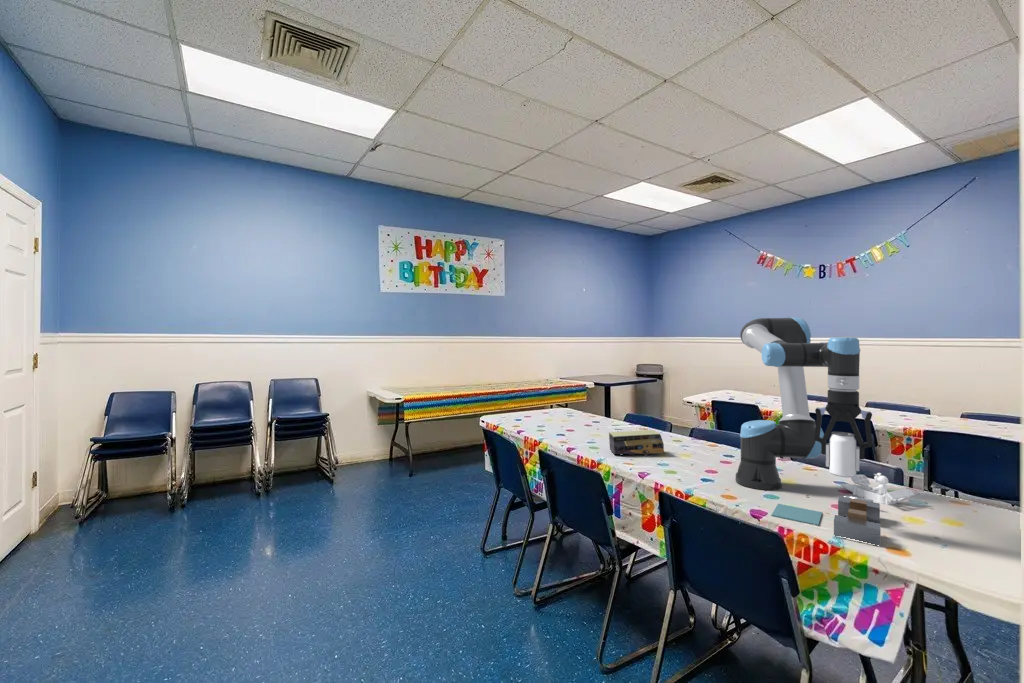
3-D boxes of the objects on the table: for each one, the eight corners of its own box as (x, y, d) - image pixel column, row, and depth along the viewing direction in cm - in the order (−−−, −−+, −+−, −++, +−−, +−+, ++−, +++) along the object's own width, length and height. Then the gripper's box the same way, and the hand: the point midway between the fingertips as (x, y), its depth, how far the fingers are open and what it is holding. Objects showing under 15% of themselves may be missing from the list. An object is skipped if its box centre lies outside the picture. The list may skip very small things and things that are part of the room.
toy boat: (851, 486, 168) (851, 462, 168) (915, 505, 149) (915, 478, 149) (830, 490, 164) (830, 465, 164) (892, 509, 145) (892, 482, 145)
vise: (840, 503, 151) (840, 485, 151) (879, 510, 145) (879, 491, 145) (833, 536, 126) (833, 514, 126) (880, 546, 119) (880, 524, 119)
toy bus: (664, 455, 212) (663, 433, 212) (614, 458, 212) (613, 436, 212) (657, 450, 222) (656, 429, 222) (609, 452, 222) (608, 432, 222)
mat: (777, 504, 150) (777, 503, 150) (822, 513, 142) (822, 512, 142) (771, 515, 140) (771, 514, 140) (818, 525, 133) (818, 524, 133)
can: (824, 472, 136) (824, 432, 136) (838, 469, 139) (838, 430, 139) (846, 478, 130) (847, 437, 130) (861, 476, 133) (861, 435, 133)
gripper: (802, 388, 137) (802, 465, 137) (886, 393, 125) (885, 477, 126) (804, 386, 143) (804, 459, 143) (885, 390, 131) (884, 470, 132)
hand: (842, 467), depth 135 cm, fingers closed on can, 6 cm apart
